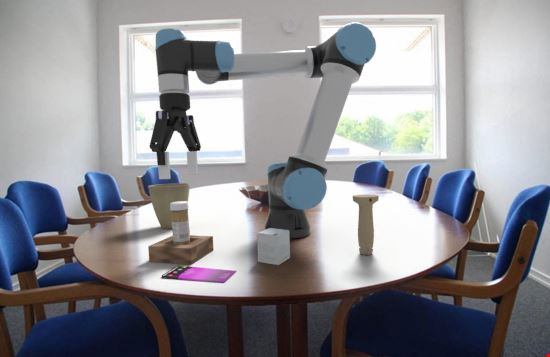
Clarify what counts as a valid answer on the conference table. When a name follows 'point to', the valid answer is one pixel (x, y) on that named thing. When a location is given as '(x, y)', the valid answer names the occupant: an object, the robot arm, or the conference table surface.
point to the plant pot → (167, 200)
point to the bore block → (181, 250)
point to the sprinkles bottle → (180, 222)
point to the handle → (365, 222)
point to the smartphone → (199, 274)
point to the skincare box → (273, 246)
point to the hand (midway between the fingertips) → (180, 176)
